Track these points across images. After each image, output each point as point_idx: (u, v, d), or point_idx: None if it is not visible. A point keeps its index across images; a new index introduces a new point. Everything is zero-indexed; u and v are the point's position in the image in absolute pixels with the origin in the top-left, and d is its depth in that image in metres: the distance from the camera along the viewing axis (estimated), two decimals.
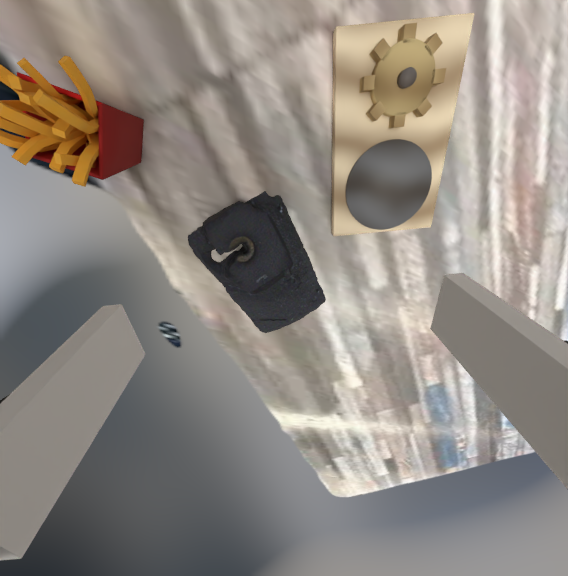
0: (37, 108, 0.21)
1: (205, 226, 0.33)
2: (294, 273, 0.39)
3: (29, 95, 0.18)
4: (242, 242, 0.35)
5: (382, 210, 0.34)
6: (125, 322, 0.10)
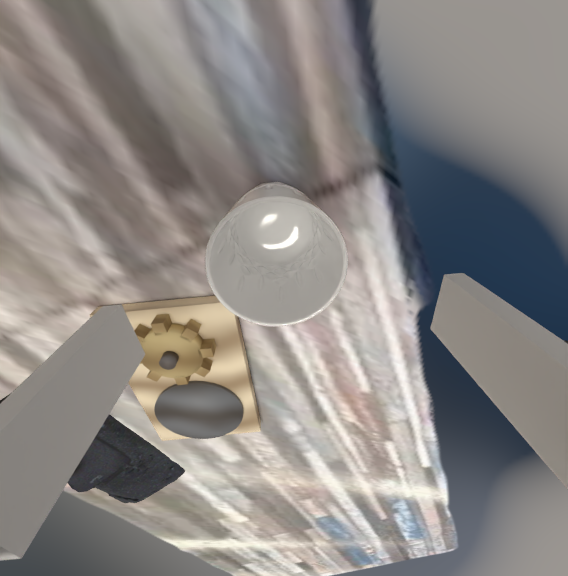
0: None
1: None
2: (137, 463, 0.39)
3: None
4: None
5: (201, 427, 0.34)
6: (124, 322, 0.10)
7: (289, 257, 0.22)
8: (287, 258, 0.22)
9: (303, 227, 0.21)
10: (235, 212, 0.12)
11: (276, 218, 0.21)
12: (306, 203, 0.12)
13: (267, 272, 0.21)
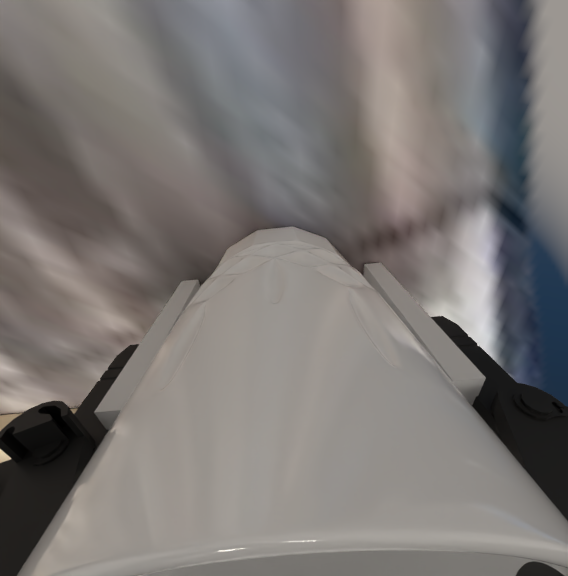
0: None
1: None
2: None
3: None
4: None
5: None
6: None
7: None
8: None
9: None
10: None
11: None
12: (510, 541, 0.02)
13: None
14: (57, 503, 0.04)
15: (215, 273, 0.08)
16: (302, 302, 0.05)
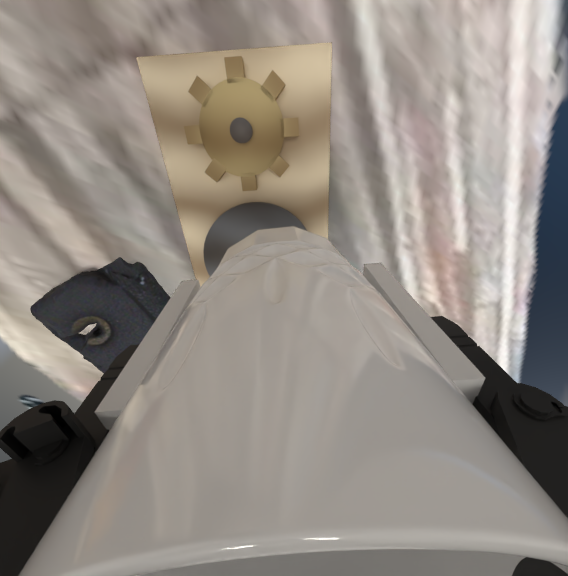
0: None
1: (31, 307, 0.25)
2: None
3: None
4: (91, 323, 0.27)
5: None
6: None
7: None
8: None
9: None
10: None
11: None
12: (512, 540, 0.02)
13: None
14: (57, 503, 0.04)
15: (216, 273, 0.08)
16: (303, 302, 0.05)
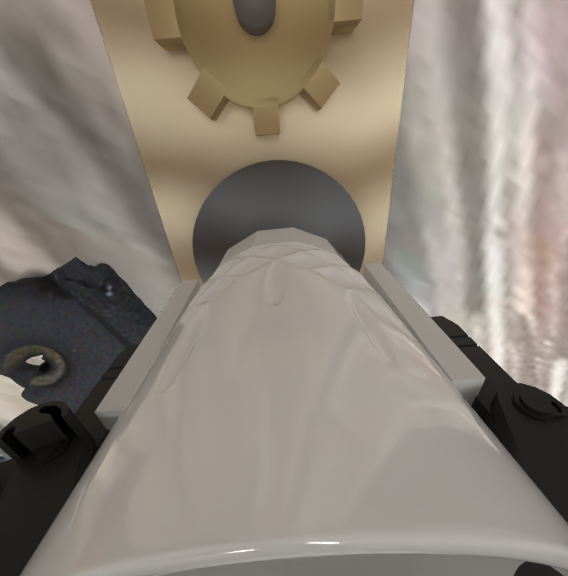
0: None
1: None
2: None
3: None
4: (33, 354, 0.18)
5: None
6: None
7: None
8: None
9: None
10: None
11: None
12: (510, 545, 0.02)
13: None
14: (57, 503, 0.04)
15: (215, 274, 0.08)
16: (303, 304, 0.05)
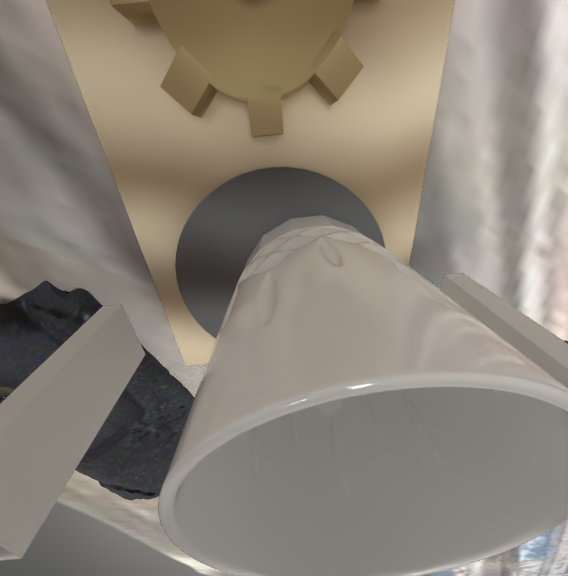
0: None
1: None
2: (155, 422, 0.20)
3: None
4: None
5: None
6: (124, 322, 0.10)
7: None
8: None
9: None
10: (262, 421, 0.03)
11: None
12: (548, 389, 0.03)
13: None
14: None
15: (263, 253, 0.09)
16: (361, 265, 0.06)
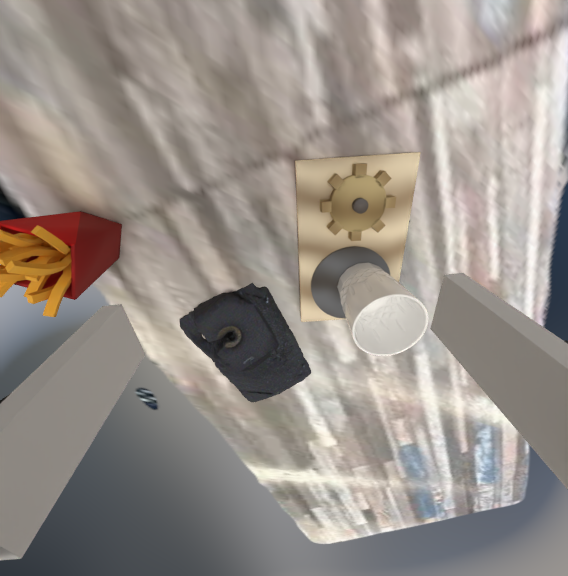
0: None
1: (195, 319, 0.35)
2: (280, 352, 0.41)
3: (3, 258, 0.20)
4: (230, 331, 0.37)
5: None
6: (124, 322, 0.10)
7: (372, 308, 0.35)
8: (370, 309, 0.35)
9: None
10: (377, 300, 0.25)
11: None
12: (412, 297, 0.25)
13: (361, 319, 0.33)
14: None
15: (355, 276, 0.31)
16: (386, 281, 0.28)
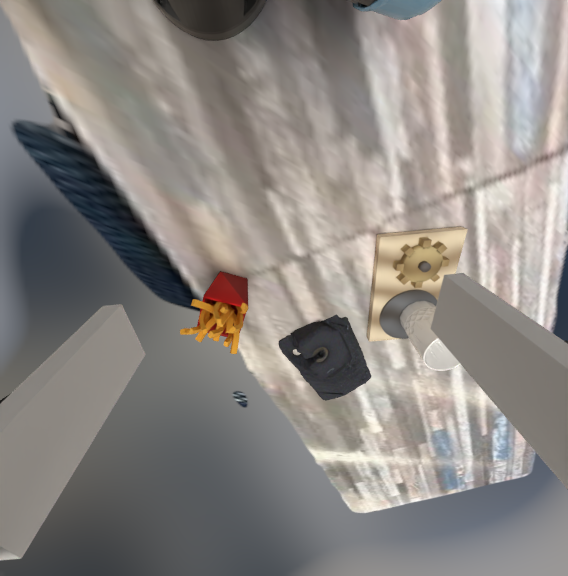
0: (212, 312, 0.36)
1: (298, 343, 0.48)
2: (351, 363, 0.55)
3: (222, 323, 0.33)
4: (321, 350, 0.50)
5: None
6: (124, 322, 0.10)
7: None
8: None
9: None
10: None
11: None
12: None
13: None
14: None
15: (418, 313, 0.44)
16: None
